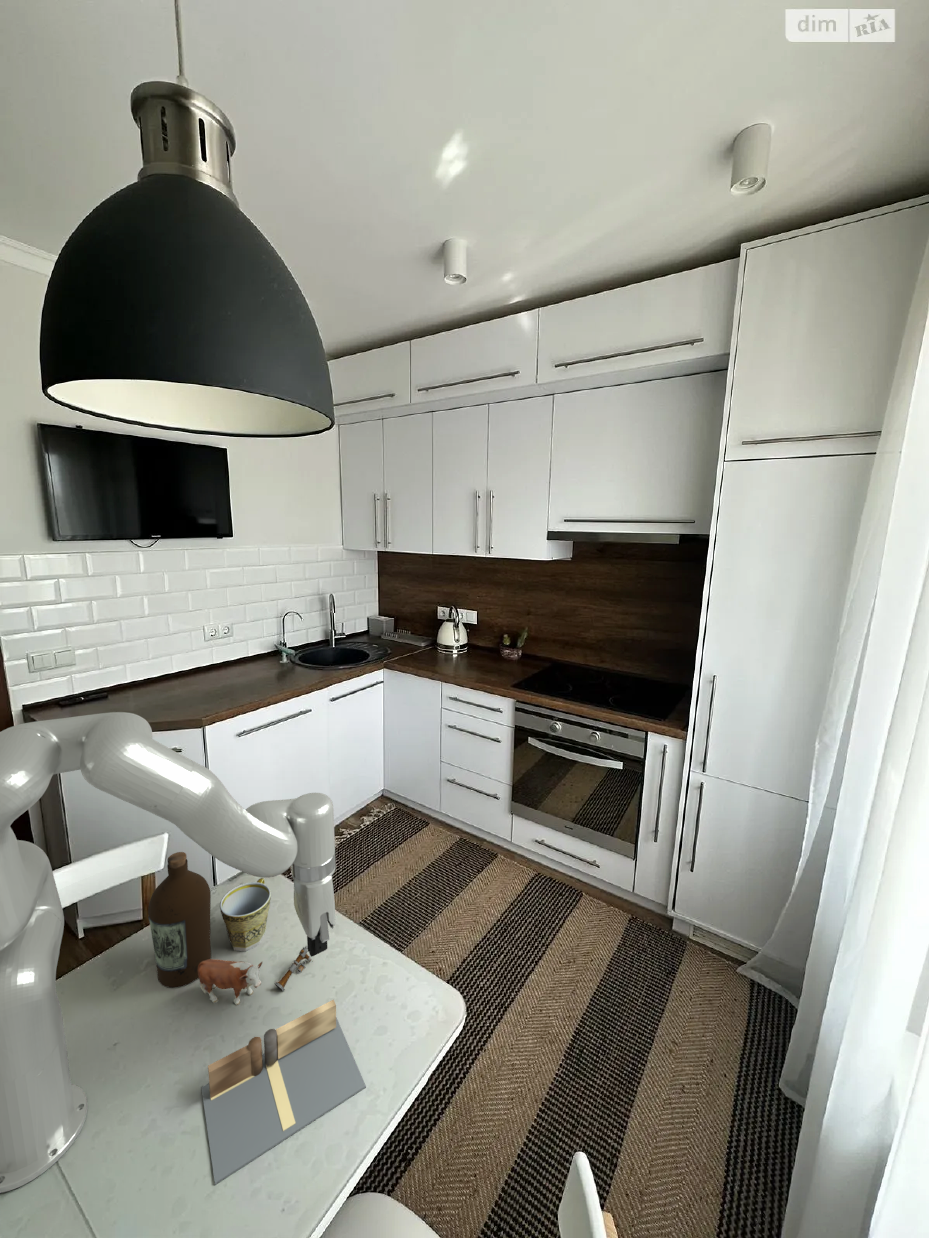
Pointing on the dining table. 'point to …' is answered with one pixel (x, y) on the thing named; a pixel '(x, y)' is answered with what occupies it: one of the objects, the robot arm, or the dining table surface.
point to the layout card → (279, 1101)
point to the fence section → (236, 1067)
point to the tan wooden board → (299, 1032)
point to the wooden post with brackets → (294, 967)
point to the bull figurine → (228, 977)
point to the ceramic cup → (246, 914)
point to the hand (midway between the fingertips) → (317, 949)
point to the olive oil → (180, 923)
